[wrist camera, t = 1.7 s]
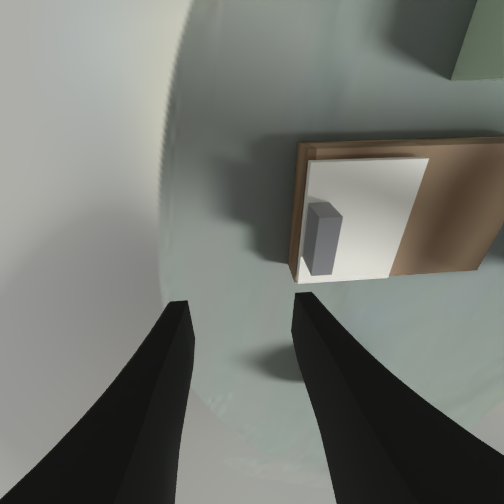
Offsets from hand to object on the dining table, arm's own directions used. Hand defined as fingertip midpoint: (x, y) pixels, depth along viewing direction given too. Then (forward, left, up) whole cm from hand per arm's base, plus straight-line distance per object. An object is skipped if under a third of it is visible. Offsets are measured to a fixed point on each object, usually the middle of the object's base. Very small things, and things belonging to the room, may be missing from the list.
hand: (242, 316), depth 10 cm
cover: (-7, 0, -7) cm, 10 cm away
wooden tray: (-11, 0, -9) cm, 14 cm away
